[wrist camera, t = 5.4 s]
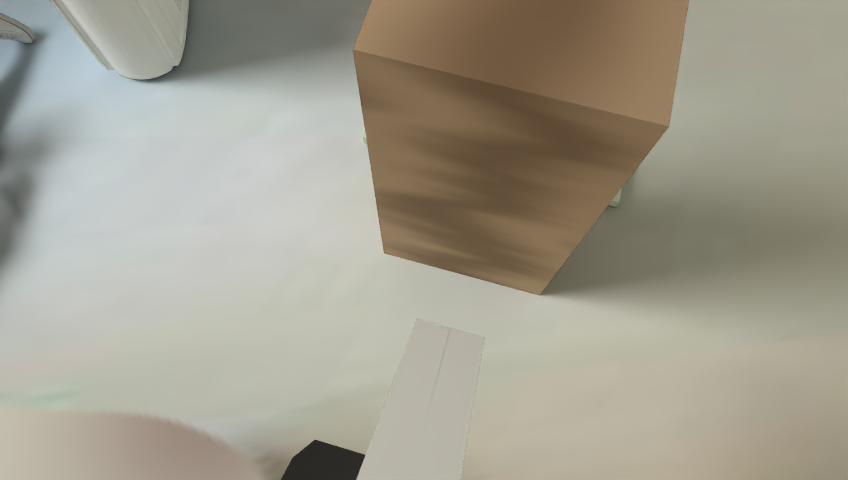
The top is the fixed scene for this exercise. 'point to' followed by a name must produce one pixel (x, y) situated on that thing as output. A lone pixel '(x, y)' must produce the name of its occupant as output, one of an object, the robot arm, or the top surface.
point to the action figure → (15, 30)
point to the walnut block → (509, 123)
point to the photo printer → (130, 33)
